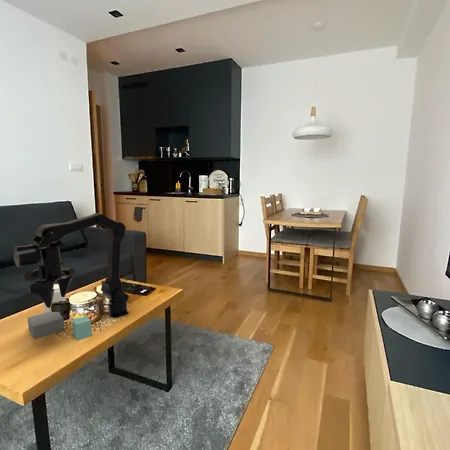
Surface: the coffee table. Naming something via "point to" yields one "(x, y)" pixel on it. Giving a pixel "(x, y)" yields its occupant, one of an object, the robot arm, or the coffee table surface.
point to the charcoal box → (45, 324)
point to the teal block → (81, 327)
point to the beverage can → (55, 297)
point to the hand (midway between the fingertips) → (56, 301)
